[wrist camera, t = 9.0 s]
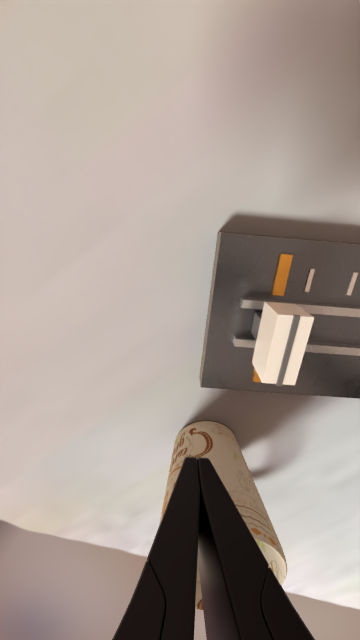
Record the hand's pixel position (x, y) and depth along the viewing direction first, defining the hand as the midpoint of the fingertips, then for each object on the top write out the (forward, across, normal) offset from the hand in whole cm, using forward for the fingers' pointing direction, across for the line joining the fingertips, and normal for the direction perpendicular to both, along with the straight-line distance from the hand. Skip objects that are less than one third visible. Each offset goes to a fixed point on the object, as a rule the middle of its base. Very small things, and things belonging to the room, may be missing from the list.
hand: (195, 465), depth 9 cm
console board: (+12, -11, -2) cm, 17 cm away
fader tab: (+11, -6, -2) cm, 12 cm away
